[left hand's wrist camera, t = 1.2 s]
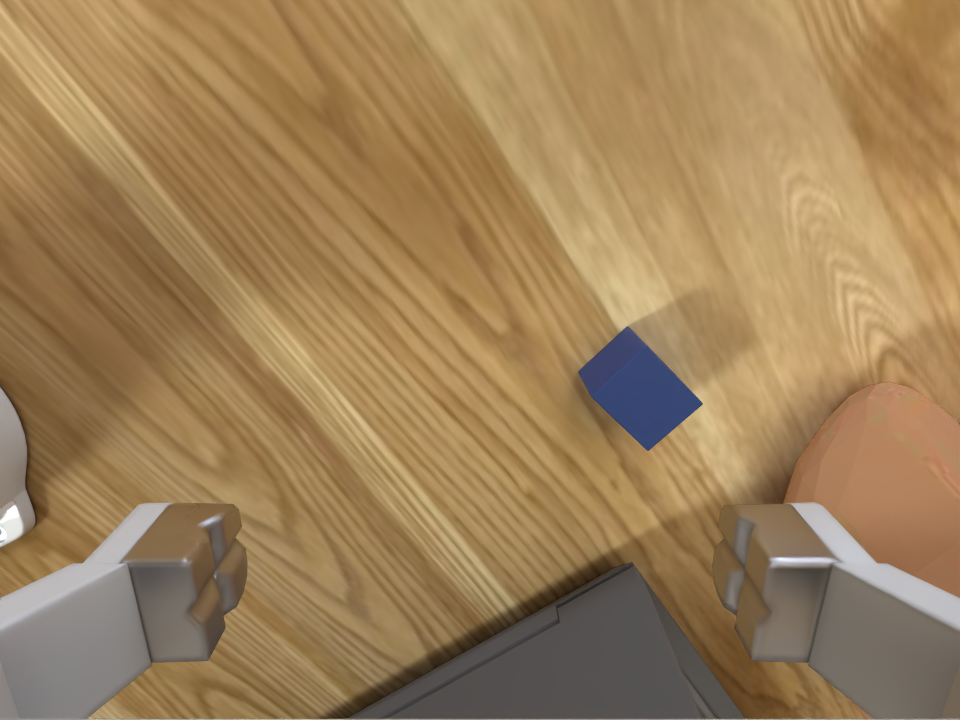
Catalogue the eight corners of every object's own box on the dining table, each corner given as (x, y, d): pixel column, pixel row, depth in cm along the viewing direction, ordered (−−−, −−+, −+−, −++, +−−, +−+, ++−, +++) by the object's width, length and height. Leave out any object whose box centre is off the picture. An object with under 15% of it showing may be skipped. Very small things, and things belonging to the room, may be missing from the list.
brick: (630, 422, 40) (648, 451, 36) (577, 371, 39) (590, 396, 35) (679, 378, 39) (703, 404, 35) (627, 325, 38) (646, 345, 34)
